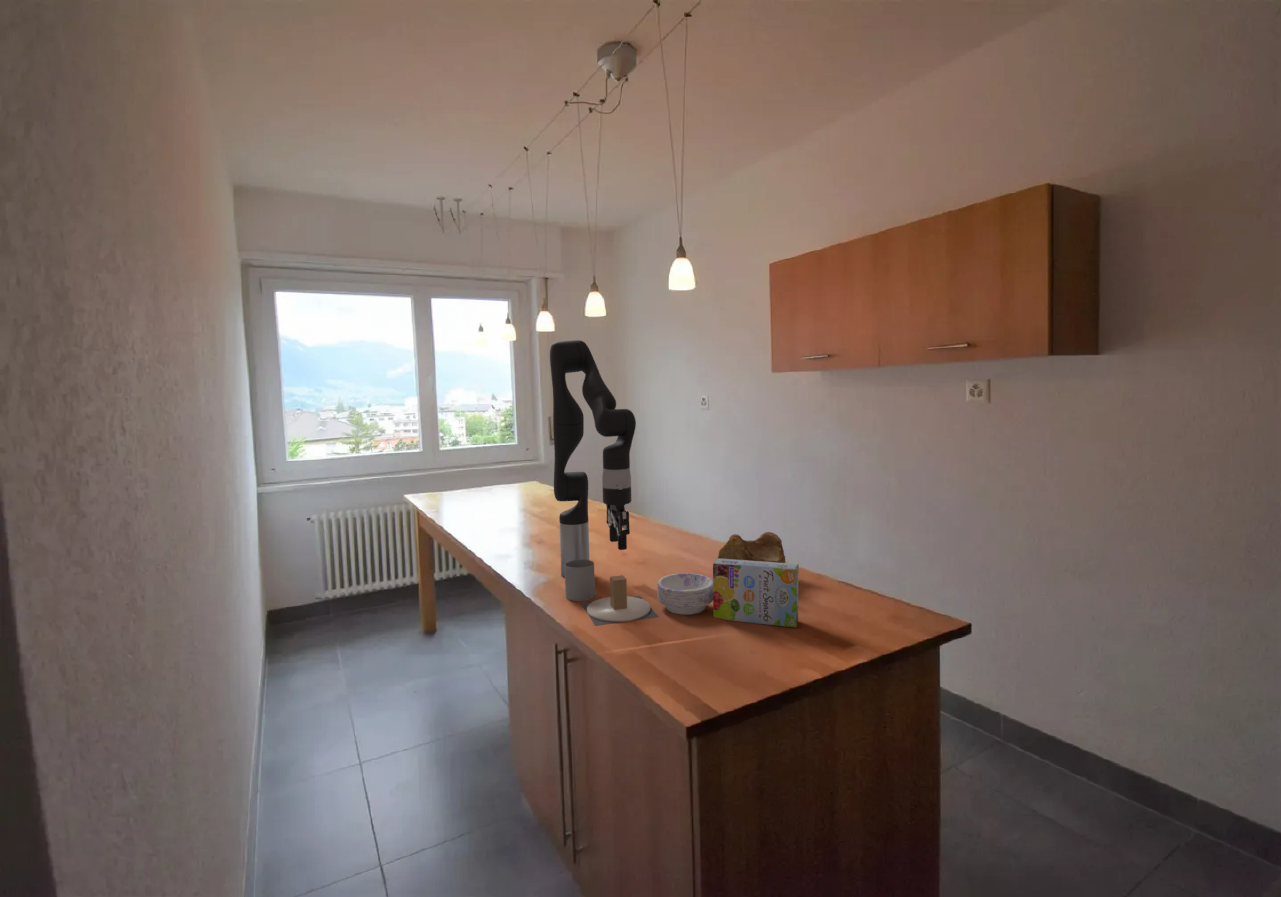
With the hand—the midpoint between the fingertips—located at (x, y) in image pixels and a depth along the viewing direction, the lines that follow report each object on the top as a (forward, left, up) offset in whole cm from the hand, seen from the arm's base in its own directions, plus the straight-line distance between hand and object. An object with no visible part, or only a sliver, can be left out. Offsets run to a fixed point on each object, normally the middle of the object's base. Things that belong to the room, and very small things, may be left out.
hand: (618, 545), depth 163 cm
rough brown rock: (-7, +45, -18) cm, 49 cm away
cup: (-14, -8, -18) cm, 25 cm away
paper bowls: (+5, +17, -18) cm, 26 cm away
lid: (0, 0, -18) cm, 18 cm away
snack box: (+18, +31, -18) cm, 40 cm away
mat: (0, 0, -18) cm, 18 cm away
